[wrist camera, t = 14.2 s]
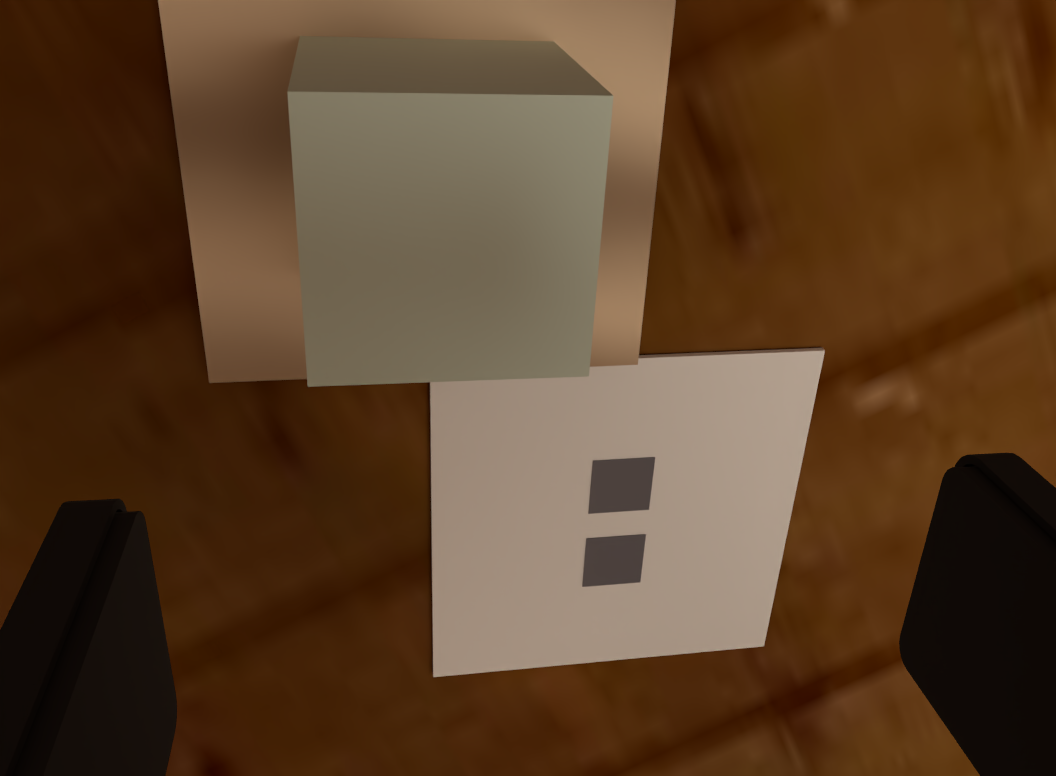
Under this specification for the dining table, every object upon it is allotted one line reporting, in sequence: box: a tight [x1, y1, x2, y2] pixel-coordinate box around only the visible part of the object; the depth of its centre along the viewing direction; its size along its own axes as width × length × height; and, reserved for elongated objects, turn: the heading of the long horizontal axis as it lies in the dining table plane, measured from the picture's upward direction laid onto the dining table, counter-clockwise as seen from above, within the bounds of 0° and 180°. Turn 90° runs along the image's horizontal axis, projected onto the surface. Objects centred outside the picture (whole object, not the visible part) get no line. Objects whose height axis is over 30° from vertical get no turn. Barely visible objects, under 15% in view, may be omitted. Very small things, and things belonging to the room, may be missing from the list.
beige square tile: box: [158, 0, 676, 383], centre depth 25 cm, size 12×12×1 cm
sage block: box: [287, 36, 613, 387], centre depth 22 cm, size 6×6×6 cm
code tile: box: [430, 348, 825, 677], centre depth 32 cm, size 12×12×1 cm
